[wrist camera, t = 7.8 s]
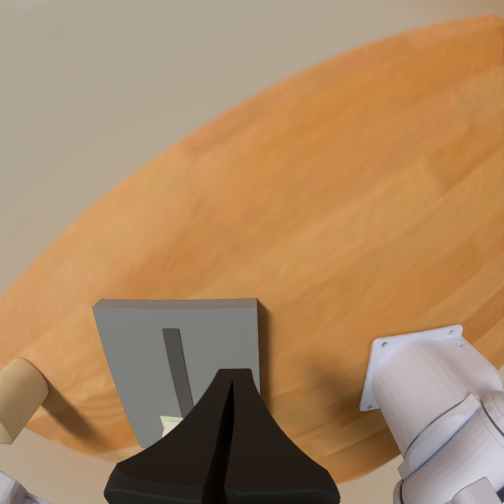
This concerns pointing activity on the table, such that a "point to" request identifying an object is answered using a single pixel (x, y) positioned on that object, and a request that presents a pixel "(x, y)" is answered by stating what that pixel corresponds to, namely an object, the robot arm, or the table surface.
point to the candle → (19, 397)
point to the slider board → (173, 354)
